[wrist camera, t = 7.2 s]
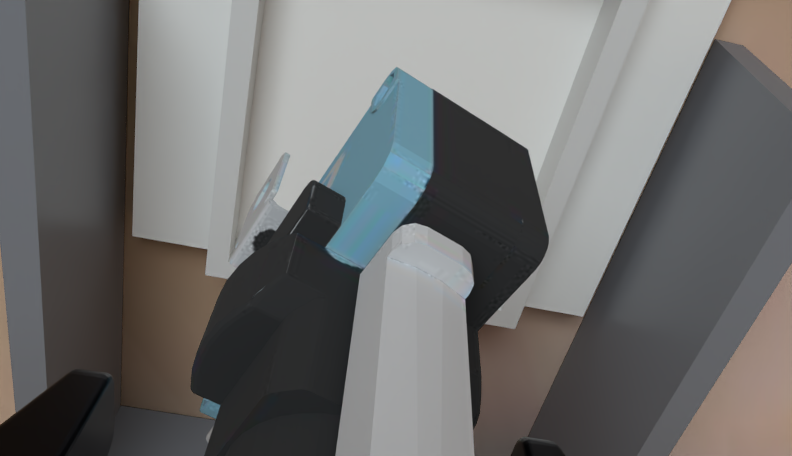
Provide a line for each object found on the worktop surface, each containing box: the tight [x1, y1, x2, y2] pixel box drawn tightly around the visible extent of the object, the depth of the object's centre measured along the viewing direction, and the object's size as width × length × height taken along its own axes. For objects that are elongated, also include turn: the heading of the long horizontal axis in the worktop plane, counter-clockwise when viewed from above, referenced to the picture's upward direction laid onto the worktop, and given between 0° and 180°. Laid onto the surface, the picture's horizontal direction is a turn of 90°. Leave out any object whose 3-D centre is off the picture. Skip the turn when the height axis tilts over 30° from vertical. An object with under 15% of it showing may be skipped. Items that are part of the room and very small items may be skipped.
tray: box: [132, 0, 731, 329], centre depth 16 cm, size 18×16×5 cm
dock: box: [0, 0, 792, 456], centre depth 21 cm, size 18×17×6 cm
